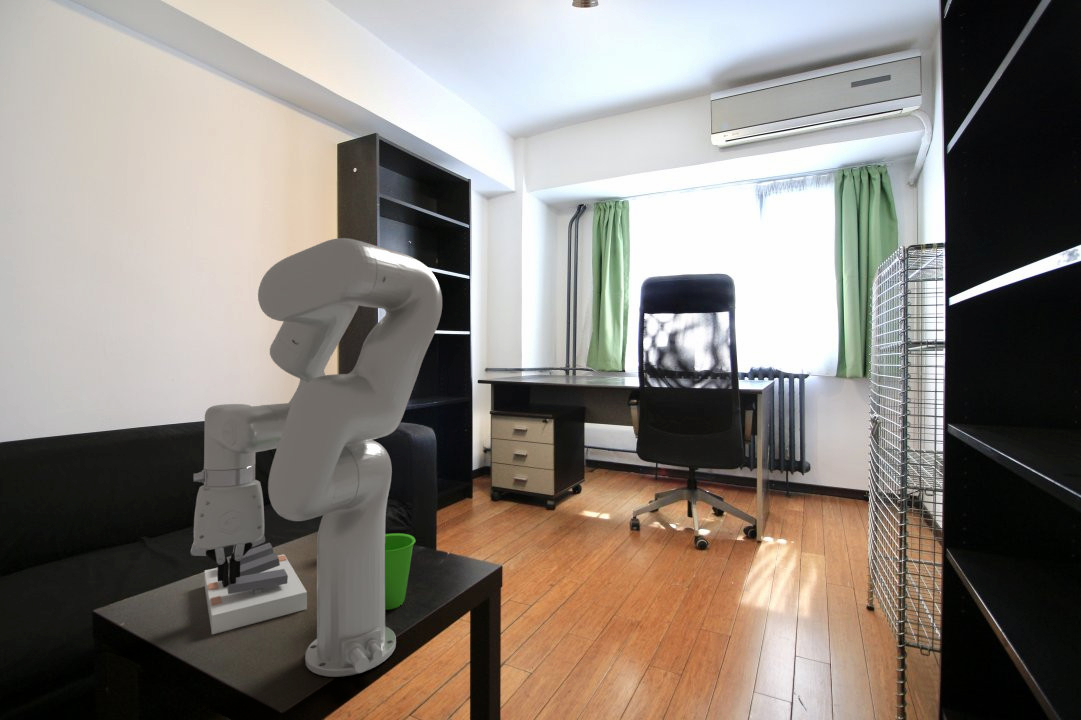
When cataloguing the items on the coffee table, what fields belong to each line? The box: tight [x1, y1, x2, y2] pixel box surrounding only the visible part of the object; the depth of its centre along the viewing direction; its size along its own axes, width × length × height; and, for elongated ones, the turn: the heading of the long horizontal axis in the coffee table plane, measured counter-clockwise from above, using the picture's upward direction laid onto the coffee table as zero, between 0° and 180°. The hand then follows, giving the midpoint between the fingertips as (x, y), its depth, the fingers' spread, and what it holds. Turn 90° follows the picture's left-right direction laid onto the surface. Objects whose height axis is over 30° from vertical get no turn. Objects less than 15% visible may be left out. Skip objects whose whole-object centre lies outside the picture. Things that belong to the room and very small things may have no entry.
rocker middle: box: [228, 552, 280, 578], centre depth 95 cm, size 4×9×1 cm, turn 126°
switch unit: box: [204, 553, 308, 635], centre depth 94 cm, size 22×14×4 cm, turn 36°
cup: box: [385, 532, 416, 611], centre depth 91 cm, size 9×9×11 cm
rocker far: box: [226, 542, 275, 565], centre depth 100 cm, size 4×9×1 cm, turn 126°
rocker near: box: [227, 569, 288, 594], centre depth 89 cm, size 4×9×1 cm, turn 126°
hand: (228, 583), depth 87 cm, fingers closed
